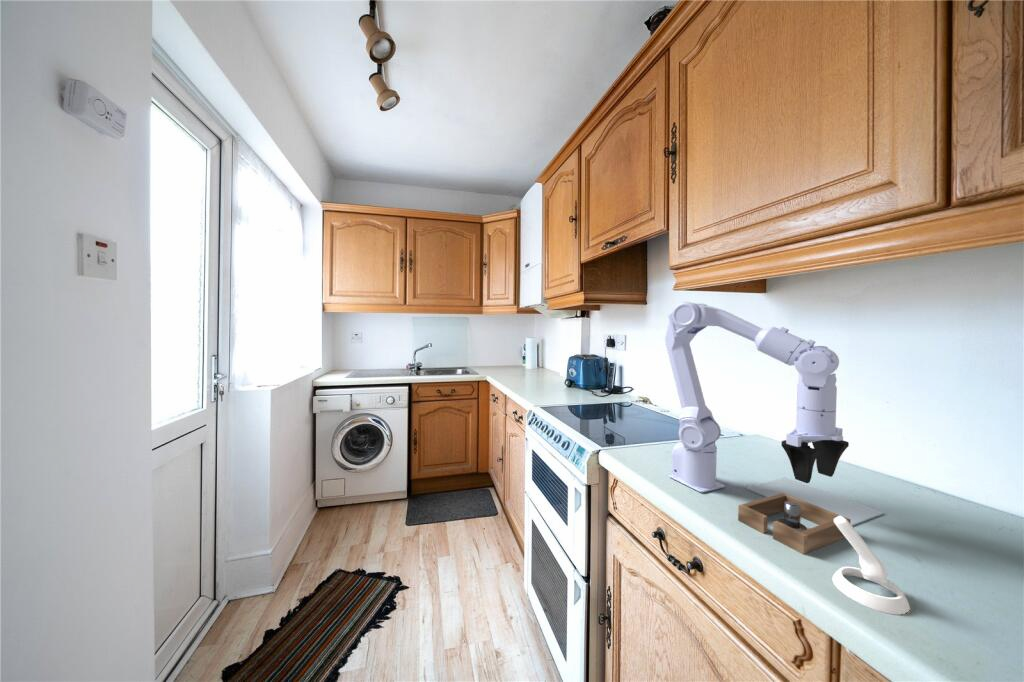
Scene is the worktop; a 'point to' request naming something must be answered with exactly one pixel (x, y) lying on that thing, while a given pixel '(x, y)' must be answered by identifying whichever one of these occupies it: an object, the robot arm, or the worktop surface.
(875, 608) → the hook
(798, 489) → the mat
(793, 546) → the wooden frame
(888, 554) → the worktop surface
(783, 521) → the post
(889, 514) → the worktop surface
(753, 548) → the worktop surface
